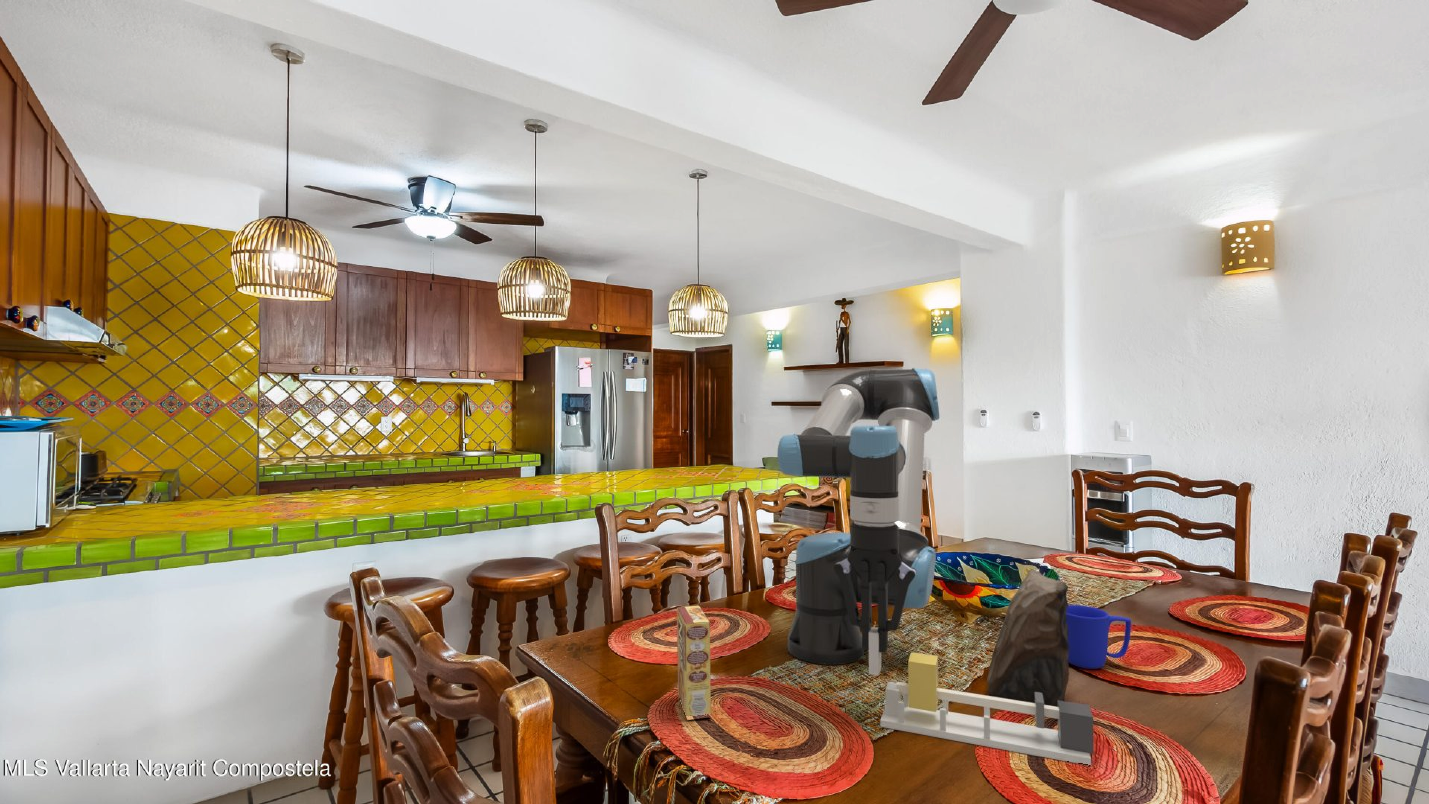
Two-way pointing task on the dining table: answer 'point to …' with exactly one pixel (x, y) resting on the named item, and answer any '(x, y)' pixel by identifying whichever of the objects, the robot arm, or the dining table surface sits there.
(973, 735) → the comb rail
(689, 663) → the candy box
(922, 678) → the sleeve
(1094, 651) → the mug
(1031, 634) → the brown rock
